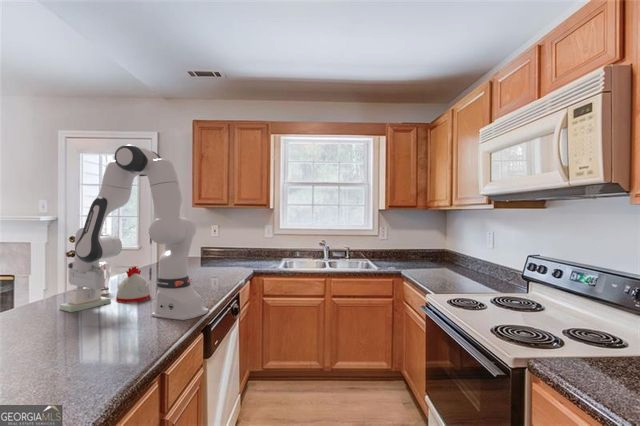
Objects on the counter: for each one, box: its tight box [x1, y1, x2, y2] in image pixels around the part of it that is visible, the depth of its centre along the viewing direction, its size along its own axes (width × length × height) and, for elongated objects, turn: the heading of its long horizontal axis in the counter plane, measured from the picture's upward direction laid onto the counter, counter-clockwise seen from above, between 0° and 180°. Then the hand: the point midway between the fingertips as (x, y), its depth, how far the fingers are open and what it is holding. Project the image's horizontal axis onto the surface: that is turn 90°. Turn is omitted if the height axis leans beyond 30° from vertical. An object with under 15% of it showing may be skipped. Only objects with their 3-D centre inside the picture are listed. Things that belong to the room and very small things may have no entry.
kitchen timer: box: [115, 266, 151, 303], centre depth 158 cm, size 14×14×15 cm
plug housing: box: [69, 287, 109, 304], centre depth 146 cm, size 4×14×5 cm, turn 154°
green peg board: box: [59, 296, 112, 313], centre depth 144 cm, size 8×16×5 cm, turn 154°
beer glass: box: [99, 261, 112, 296], centre depth 165 cm, size 7×7×15 cm
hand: (86, 297), depth 144 cm, fingers open, 5 cm apart
